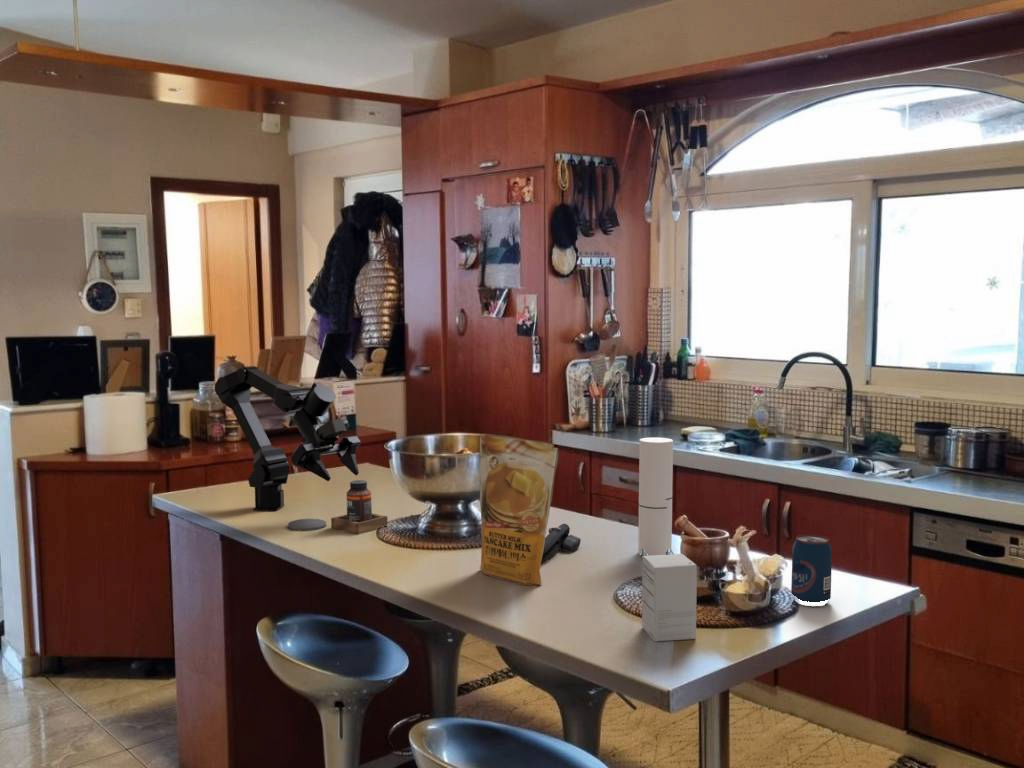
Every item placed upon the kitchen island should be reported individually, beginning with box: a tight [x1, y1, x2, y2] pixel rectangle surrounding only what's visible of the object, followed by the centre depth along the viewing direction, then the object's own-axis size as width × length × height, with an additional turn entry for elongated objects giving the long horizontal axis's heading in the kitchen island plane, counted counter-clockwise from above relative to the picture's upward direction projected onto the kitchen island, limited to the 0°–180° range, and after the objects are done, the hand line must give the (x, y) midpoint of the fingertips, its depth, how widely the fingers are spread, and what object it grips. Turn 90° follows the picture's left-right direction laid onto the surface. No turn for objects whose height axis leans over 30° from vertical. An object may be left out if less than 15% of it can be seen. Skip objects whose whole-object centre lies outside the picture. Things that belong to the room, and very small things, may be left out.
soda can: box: [790, 534, 833, 602], centre depth 180 cm, size 7×7×12 cm
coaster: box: [287, 518, 327, 532], centre depth 239 cm, size 9×9×1 cm
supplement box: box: [641, 553, 698, 643], centre depth 164 cm, size 7×7×13 cm
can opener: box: [541, 523, 582, 565], centre depth 213 cm, size 18×7×6 cm, turn 154°
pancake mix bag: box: [478, 434, 560, 586], centre depth 196 cm, size 7×19×28 cm, turn 48°
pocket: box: [330, 513, 389, 535], centre depth 238 cm, size 10×10×2 cm
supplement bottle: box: [346, 479, 373, 522], centre depth 237 cm, size 6×6×11 cm
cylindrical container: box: [637, 437, 674, 556], centre depth 213 cm, size 7×7×25 cm
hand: (343, 477), depth 240 cm, fingers open, 9 cm apart
